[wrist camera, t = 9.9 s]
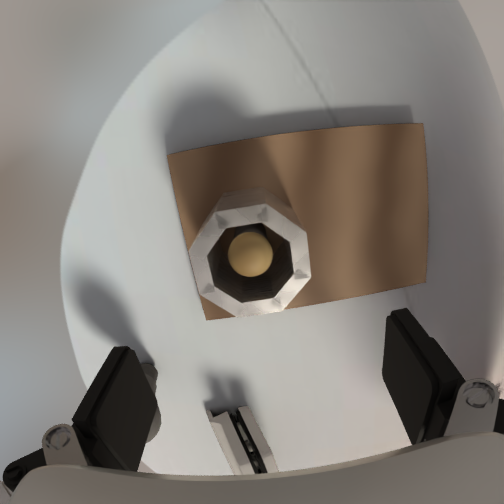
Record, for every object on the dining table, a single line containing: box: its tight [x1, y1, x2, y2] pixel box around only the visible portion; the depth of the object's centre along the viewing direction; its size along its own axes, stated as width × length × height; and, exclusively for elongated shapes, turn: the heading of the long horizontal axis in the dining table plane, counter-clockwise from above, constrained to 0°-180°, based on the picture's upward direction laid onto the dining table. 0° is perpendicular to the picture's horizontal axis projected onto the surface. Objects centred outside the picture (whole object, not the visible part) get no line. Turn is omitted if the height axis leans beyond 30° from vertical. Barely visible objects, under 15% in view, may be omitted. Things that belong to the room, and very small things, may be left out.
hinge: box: [206, 406, 279, 475], centre depth 32 cm, size 17×5×10 cm, turn 10°
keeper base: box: [167, 123, 428, 320], centre depth 22 cm, size 20×14×7 cm
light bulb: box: [140, 363, 161, 443], centre depth 26 cm, size 6×6×10 cm
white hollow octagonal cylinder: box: [189, 187, 311, 317], centre depth 21 cm, size 7×7×6 cm
